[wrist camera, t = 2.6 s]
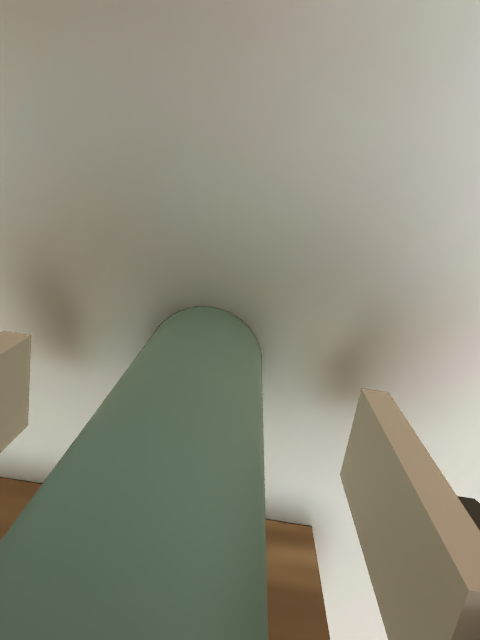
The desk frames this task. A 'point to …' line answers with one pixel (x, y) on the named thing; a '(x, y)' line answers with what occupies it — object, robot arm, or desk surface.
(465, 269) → the desk surface
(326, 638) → the socket box
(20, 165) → the desk surface
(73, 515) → the peg
